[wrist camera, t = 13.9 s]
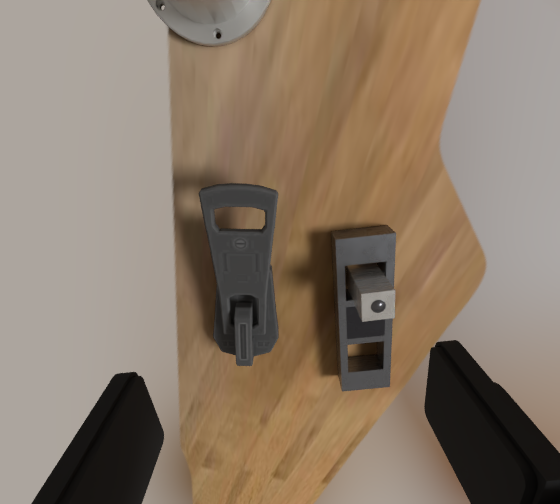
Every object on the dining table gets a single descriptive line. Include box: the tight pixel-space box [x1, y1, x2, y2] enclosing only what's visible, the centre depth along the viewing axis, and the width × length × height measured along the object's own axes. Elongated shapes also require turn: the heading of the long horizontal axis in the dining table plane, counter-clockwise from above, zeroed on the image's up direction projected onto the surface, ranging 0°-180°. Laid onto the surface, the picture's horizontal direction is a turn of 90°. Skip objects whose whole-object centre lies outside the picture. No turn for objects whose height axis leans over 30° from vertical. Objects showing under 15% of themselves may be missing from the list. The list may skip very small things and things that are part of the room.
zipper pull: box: [199, 183, 278, 366], centre depth 37 cm, size 9×7×25 cm
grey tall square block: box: [345, 263, 395, 322], centre depth 36 cm, size 4×4×8 cm
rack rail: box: [331, 225, 396, 391], centre depth 41 cm, size 24×7×3 cm, turn 6°
